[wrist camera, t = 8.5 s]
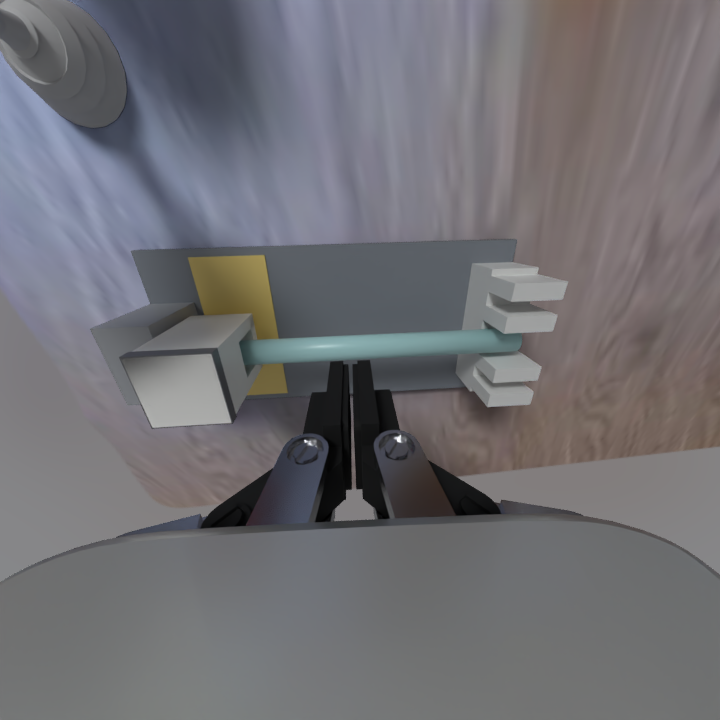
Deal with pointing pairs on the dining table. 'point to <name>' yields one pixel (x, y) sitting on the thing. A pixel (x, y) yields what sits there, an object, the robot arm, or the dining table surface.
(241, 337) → the sleeve
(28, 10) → the chalice
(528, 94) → the dining table surface
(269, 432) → the dining table surface
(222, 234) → the dining table surface
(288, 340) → the cable rig
